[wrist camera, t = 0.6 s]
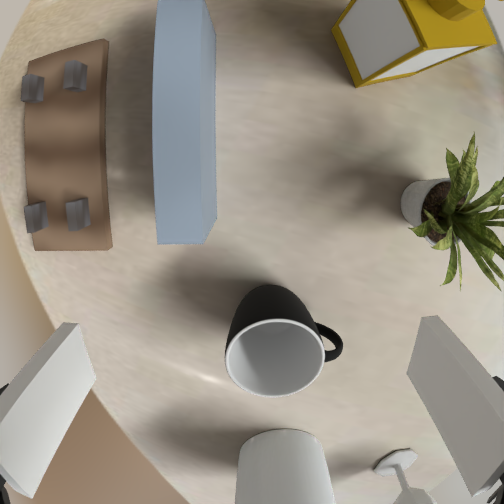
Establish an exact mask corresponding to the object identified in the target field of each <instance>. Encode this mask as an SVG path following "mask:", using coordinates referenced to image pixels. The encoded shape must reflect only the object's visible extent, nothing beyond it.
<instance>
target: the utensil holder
mask: <svg viewBox="0 0 504 504" xmlns="http://www.w3.org/2000/svg"><path fill="white" fill-rule="evenodd" d="M235 504H336V503H335V499H334V494H333V490H332V485H331V480H330V476H329V471H328V467H327V463H326V460H325V456H324V452H323V449H322V445H321V443H320V441H319V440H318V439H317V438H316V437H314V436H313V435H311V434H309V433H307V432H304V431H300V430H294V429H278V430H271V431H267V432H263V433H260V434H258V435H256V436H253V437H252V438H250V439H249V440H247V441H246V442H245V443H244V444H243V446H242V447H241V450H240V454H239V461H238V470H237V481H236V495H235Z"/></svg>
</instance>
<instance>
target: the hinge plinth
mask: <svg viewBox="0 0 504 504" xmlns="http://www.w3.org/2000/svg"><path fill="white" fill-rule="evenodd" d="M108 49H109V42H108V41H107V40H105V39H100V40H96V41H92V42H88V43H84V44H81V45H77V46H74V47H70V48H67V49H64V50H61V51H58V52H54V53H51V54H49V55H46V56H43V57H40V58H37V59H34V60H32V61H29V65H28V74H27V75H25V76H23V78H22V91H21V101H23V102H25V169H26V184H27V196H28V206H25V207H24V212H25V220H26V228H27V233H32V237H33V243H34V249H35V251H94V250H109V249H110V248H112V247H113V245H112V236H111V226H110V216H109V204H108V191H107V174H106V145H105V106H106V78H107V62H108Z"/></svg>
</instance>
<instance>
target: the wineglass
mask: <svg viewBox="0 0 504 504" xmlns="http://www.w3.org/2000/svg"><path fill="white" fill-rule="evenodd" d="M417 457H418V454H416V453H415V452H414V451H413V450H411V449H407V450H399V451H395V452H394V453H392V454H390V455H389V456H387V457H385V458H384V459H382V460H381V461H380V462H379V464H378V465H377V467H376V468H375V469H374V472H375V473H377V474H379V475H381V476H390V475H396V474H397V477H398V479H399V482H400V485H401V487H402V490H403V491H402V492H401V494H400V495H399V496H398V498H397V499H396V501H395V502H394V503H393V504H437V502H436V501H435V499H434V498H433V497H432V496H431V495H430V494H429V493H428V492H427V491H425V490H424V489H417V488H411V487H409V485H408V482H407V480H406V477H405V474H404V472H403V470H405V469H406V468H408V467H410V466H411V465H412V463H413V462H414V461H415V459H416V458H417Z"/></svg>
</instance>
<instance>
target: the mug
mask: <svg viewBox="0 0 504 504" xmlns="http://www.w3.org/2000/svg"><path fill="white" fill-rule="evenodd" d="M320 335H322V336H324V337H326V338H327V339H329V340H330V341H331V342H332V343H333V344H334V345H335V347H336V349H335V350H331V351H326V350H324V345H323V342H322V339H321V336H320ZM342 349H343V342H342V340H341V338H340V336H339V335H338V334H337V333H336V332H335V331H333V330H332V329H330V328H328V327H326V326H324V325H322V324H319V323H316V322H314V321H313V319H312V317H311V315H310V313H309V312H308V310H307V308H306V307H305V305H304V304H303V303H302V301H301V300H300V299H299V298H298V297H297V296H296V295H295V294H294V293H293V292H291V291H290V290H288V289H286V288H284V287H281V286H276V285H266V286H261V287H259V288H256V289H254V290H253V291H251V292H250V293H249V294H247V295H246V296H245V298H244V299H243V300H242V302H241V303H240V305H239V307H238V308H237V310H236V313H235V315H234V318H233V321H232V324H231V327H230V330H229V334H228V338H227V343H226V349H225V366H226V369H227V372H228V374H229V376H230V378H231V379H232V380H233V382H234V383H235V384H236V385H237V386H239V387H240V388H241V389H243V390H245V391H247V392H249V393H251V394H254V395H257V396H261V397H273V398H274V397H283V396H288V395H291V394H294V393H297V392H299V391H301V390H303V389H304V388H306V387H307V386H309V385H310V384H311V383H312V382H313V381H314V380H315V379H316V378H317V377H318V375H319V374H320V372H321V370H322V368H323V365H324V362H328V361H331V360H334V359H336V358H337V357H338V356H339V355H340V354H341V352H342Z"/></svg>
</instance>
